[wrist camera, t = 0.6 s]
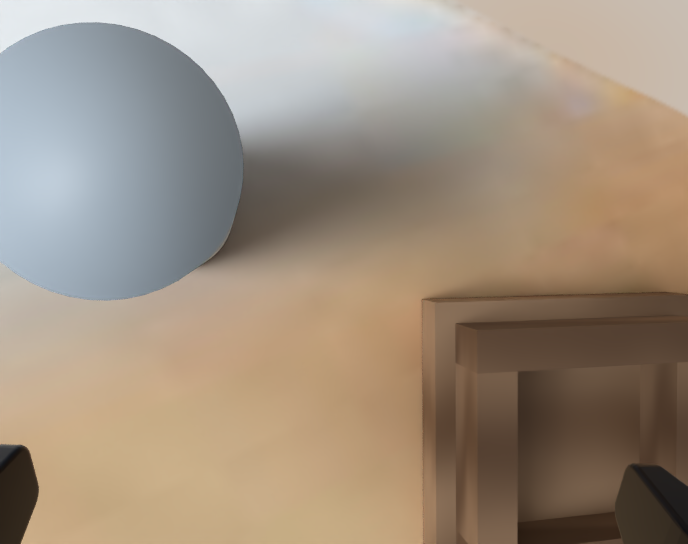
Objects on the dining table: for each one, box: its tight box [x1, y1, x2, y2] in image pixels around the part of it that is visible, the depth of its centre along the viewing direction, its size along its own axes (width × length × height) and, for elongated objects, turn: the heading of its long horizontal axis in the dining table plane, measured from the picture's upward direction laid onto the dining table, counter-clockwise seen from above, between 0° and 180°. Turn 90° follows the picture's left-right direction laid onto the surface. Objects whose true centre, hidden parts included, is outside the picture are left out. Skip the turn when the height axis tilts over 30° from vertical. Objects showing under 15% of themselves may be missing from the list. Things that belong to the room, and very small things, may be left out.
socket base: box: [422, 292, 688, 544], centre depth 23 cm, size 11×11×4 cm
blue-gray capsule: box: [0, 23, 244, 300], centre depth 16 cm, size 4×4×12 cm
